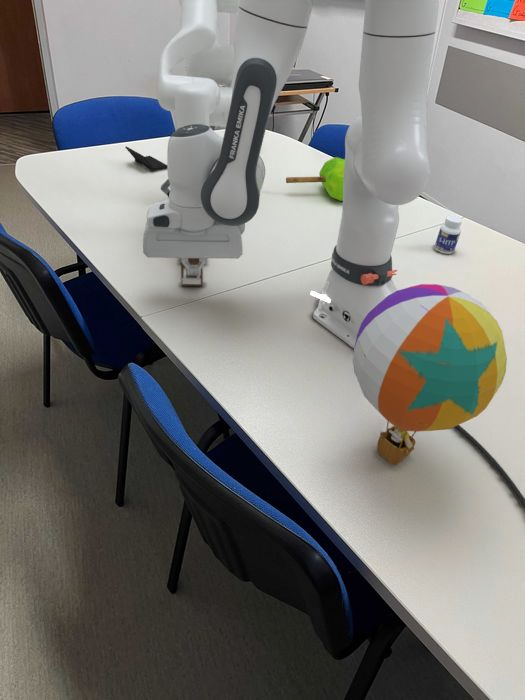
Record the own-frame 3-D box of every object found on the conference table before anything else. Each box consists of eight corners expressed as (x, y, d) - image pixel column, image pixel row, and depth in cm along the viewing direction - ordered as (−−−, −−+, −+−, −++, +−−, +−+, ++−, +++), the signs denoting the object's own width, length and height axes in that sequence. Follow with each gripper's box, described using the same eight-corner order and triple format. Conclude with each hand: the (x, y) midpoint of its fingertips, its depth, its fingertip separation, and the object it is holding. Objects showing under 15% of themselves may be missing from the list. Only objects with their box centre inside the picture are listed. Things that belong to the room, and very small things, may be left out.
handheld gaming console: (172, 161, 172) (154, 139, 164) (161, 179, 171) (142, 158, 163) (149, 157, 179) (131, 136, 170) (138, 174, 177) (119, 153, 169)
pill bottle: (433, 251, 139) (442, 220, 133) (435, 243, 143) (444, 213, 137) (453, 256, 138) (464, 225, 132) (454, 247, 142) (465, 217, 136)
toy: (305, 446, 82) (335, 284, 64) (382, 395, 93) (428, 243, 74) (404, 533, 71) (476, 369, 53) (479, 464, 82) (561, 307, 63)
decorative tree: (281, 153, 162) (372, 152, 168) (279, 186, 169) (366, 184, 174) (295, 173, 149) (392, 171, 154) (292, 208, 155) (386, 205, 161)
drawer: (202, 300, 113) (202, 273, 108) (180, 300, 113) (179, 272, 108) (202, 246, 129) (202, 220, 124) (183, 246, 128) (182, 219, 123)
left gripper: (229, 141, 123) (226, 213, 134) (155, 137, 121) (159, 211, 132) (230, 151, 117) (228, 225, 128) (153, 147, 115) (157, 223, 126)
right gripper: (244, 207, 105) (242, 267, 114) (141, 205, 103) (147, 266, 112) (246, 220, 100) (243, 282, 109) (138, 218, 98) (144, 281, 107)
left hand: (193, 217), depth 130 cm, fingers closed on cabinet, 6 cm apart
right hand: (194, 274), depth 110 cm, fingers closed
